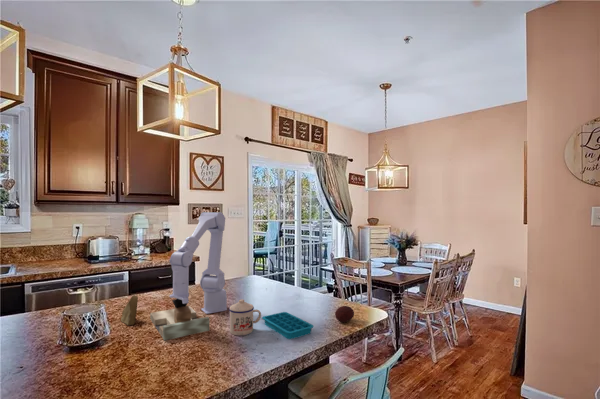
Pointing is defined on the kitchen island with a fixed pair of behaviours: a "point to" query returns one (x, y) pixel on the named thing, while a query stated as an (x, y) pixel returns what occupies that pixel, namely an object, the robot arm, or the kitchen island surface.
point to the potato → (344, 313)
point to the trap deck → (178, 324)
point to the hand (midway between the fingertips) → (180, 317)
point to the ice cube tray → (288, 325)
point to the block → (182, 314)
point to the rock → (130, 311)
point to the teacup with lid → (242, 318)
